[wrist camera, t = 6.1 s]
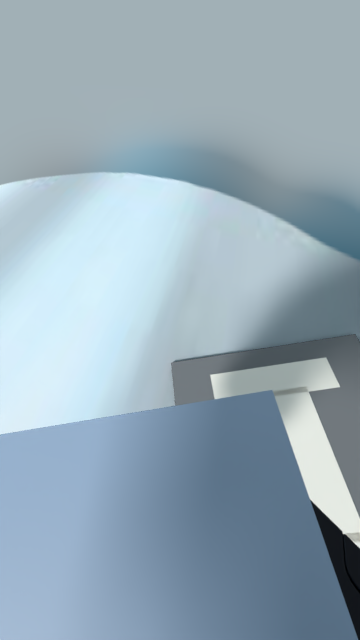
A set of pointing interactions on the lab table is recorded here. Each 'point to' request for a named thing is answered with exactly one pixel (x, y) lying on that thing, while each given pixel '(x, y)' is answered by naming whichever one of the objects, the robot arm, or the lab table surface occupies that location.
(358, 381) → the letter mat
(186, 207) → the lab table surface
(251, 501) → the blue block
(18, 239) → the lab table surface
